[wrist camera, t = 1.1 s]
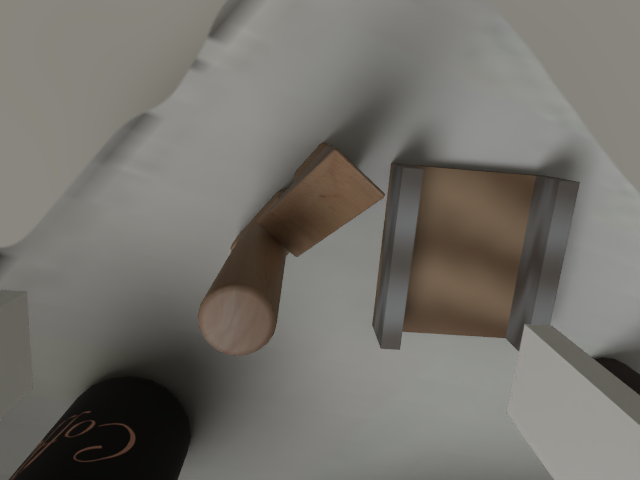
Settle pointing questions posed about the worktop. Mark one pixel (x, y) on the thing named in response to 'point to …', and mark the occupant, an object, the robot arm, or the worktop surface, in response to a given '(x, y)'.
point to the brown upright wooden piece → (280, 249)
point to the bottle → (622, 373)
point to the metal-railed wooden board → (470, 252)
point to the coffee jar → (114, 436)
